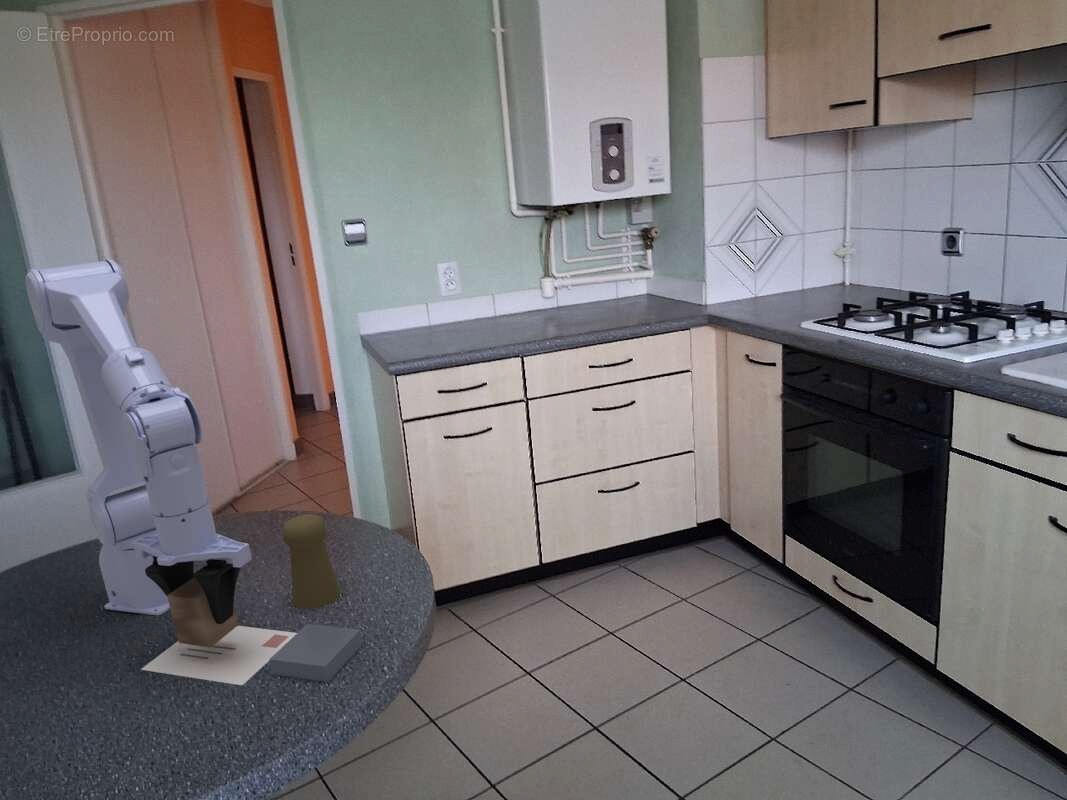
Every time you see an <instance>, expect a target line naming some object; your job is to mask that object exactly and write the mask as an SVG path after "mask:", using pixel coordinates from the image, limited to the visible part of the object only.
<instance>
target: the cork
mask: <svg viewBox="0 0 1067 800" xmlns="http://www.w3.org/2000/svg"><path fill="white" fill-rule="evenodd" d="M326 532H327V528H326V524H325V521H324V519H323V518H321V517H320V516H319V515H316V514H311V513H310V514H308V513H307V514H301V515H298V516H295V517H294V516H293V517H292V518H290V519H289V520H288V521H286V522H285V523H284V526H283V527H282V539H283V541H284V544H286V546H288V548H289V557H290V558H289V559H290V575H291V576H290V577H291V594H292V605H293V606H294V607H296V608H298V609H302V610H312V609H317V608H321V607H322V608H323V607H325V606H328V605H330V604H331V603H333V602H334V601H336V600H337V599H338V598H339V597H340V596H341V588H340V585H339V582H338V579H337V576H336V574H335V570H334V567H333V565H332V562H331V559H330V556H329V553H328V550H327V547H326V545H325V544H326V543H325V541H324V539H326V538H325V537H326V534H327V533H326Z"/></svg>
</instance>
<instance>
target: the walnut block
mask: <svg viewBox="0 0 1067 800" xmlns="http://www.w3.org/2000/svg"><path fill="white" fill-rule="evenodd" d="M167 598H168V602H169V606H170V609H169V610H170V613H171V617H172V621H173V625H174V629H175V633H176V637H177V641H179V643H183V644H189V645H196V646H202V647H209V648H211V647H212V646H213V645H215V644H216V643H217V642H218V641H220V640H221V639H222V638H223V637H225V636H226V635H227V634H228V633H229V632H231V631H232V630H233V629H234V628H236V627H237V626H239V623H238V618H237V615H236V611H235V610H236V609H235V607H234V608H233V616H232V617H230V618H229V619H228V620H227V621H225V622H224V623H223V624H217V623H216V622H215V620H214V618H213V615H212V612H211V608H210V605H209V602H208V599H207V597H206V595H205V593H204V591H203V589H202V587H201V586H200V584H199V583H198V582H197V581H196V579H195V578H194V577H193V578H192V579H191V580H189V581H188V582H186V583H185V584H183V585H182V586H180V587H179V588H177V589H176V590H174V591H173V592H171V593H170V594H168V595H167Z"/></svg>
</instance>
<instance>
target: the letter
mask: <svg viewBox="0 0 1067 800" xmlns="http://www.w3.org/2000/svg"><path fill="white" fill-rule="evenodd" d="M297 633H298V632H291V631H283V630H275V629H268V628H261V627H259V628H258V627H252V626H251V627H250V626H245V625H244V626H243V625H238V626H237V627H236V628H234V629H233V630H232V631H231V632H229V633H228V634H227V635H226V636H225V637H223V638H222V639H221V640H220V641H218V642H217V643H216V644H215V645H213V646H212V647H211V648H209V647H202V646H196V645H189V644H183V643H179V641H178V640H177V641H176V642H175V643H173V644H172V645H171V646H170V647H168V648H166V649H165V651H163V652H161V653H160V654H159V655H158V656H156V657H155V658H154V659H152V660H151V661H150V662H148V663H147V664H146V665H144V666H143V667H142V668H140V671H146V672H153V673H159V674H167V675H173V676H178V677H184V678H190V679H191V678H192V679H199V680H205V681H211V682H216V683H217V682H218V683H224V684H230V685H237V686H244V684H246V683H247V682H248V681H249V680H250V679H251V678H252V677H254V676H255V675H256V673H258V672H259V671H260V670H261V669H262V668H263V667H264V666H265V665H267V664H268V663H270V660H269V659H270V658H271V657H272V656H273V655H274V654H276V653H277V652H278V651H279V650H280V649H281V648H282V647H283V646H284V645H285V644H286V643H287V642H288V641H290V640H291V639H292V638H293V637H294V636H295V635H296V634H297Z"/></svg>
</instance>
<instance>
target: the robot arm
mask: <svg viewBox="0 0 1067 800" xmlns="http://www.w3.org/2000/svg"><path fill="white" fill-rule="evenodd" d="M24 282H25V288H26V293H27V296H28V301H29V304H30V307H31V310H32V313H33V316H34V319H35V323H36V326H37V328H38V331H39V333H41V335H42V338H43V340H45V341H47V342H52V343H55V344H59V345H60V346H61V348H62V349H63V351H64V353H65V355H66V356H67V358H68V361H69V364H70V366H71V370H72V373H73V375H74V380H75V382H76V385H77V388H78V392H79V395H80V398H81V401H82V404H83V407H84V410H85V411H84V412H85V414H86V417H87V420H88V422H89V426H90V429H91V432H92V435H93V439H94V442H95V445H96V449H97V450H98V451H97V452H98V455H99V457H100V460H101V464H102V468H103V469H102V471H101V472H100V474H99V475H98V476H97V477H96V478H95V479H94V481H92V482H91V484H90V486H89V487H88V488H87V491H86V492H87V494H86V499H87V500H86V501H87V502H88V507H89V514H90V515H89V516H90V519H91V523H92V526H93V530H94V532H95V534H96V536H97V538H98V540H99V542H100V543H101V544H102V547H101V548H100V551H99V555H98V557H99V558H98V564H99V568H100V572H101V576H102V579H103V583H104V586H105V591H106V593H107V598H108V601H109V602H107V603H106V604H105V605H104V609H105V610H111V611H119V612H124V613H125V612H127V613H134V614H141V615H142V614H144V615H149V616H150V615H151V616H152V615H153V616H160V615H163V614H164V613H166V612H167V611H169V610H170V606H169V602H168V598H167V595H168V594H170V593H171V592H173V591H174V590H176V589H177V588H179V587H180V586H182V585H183V584H185V583H186V582H188V581H189V580H191V579H192V578H193V577H194V578H195V579H196V581H197V582H198V583H199V584H200V586H201V587H202V589H203V591H204V593H205V595H206V597H207V599H208V602H209V605H210V608H211V612H212V615H213V618H214V620H215V622H216V623H217V624H223V623H224V622H225V621H227V620H228V619H229V618H230V617H232V616H233V608H234V609H235V606H234V603H235V592H236V586H237V582H238V578H239V577H238V576H239V574H240V570H241V568H242V567H243V566H244V565H246V564H248V562H250V561H252V560H253V558H252V553H251V547H250V544H249V543H246V542H241V541H237V540H235V539H231V538H230V537H227V536H224V535H222V534H219V533H217V531H216V527H215V522H214V518H213V517H214V516H213V514H212V510H211V506H210V500H209V495H208V492H207V488H206V483H205V477H204V474H203V473H204V472H203V468H202V465H201V460H200V456H199V451H198V447H197V446H195V444H196V445H199V444H201V441H202V439H203V437H202V436H203V435H202V434H203V432H202V431H203V430H202V425H201V420H200V417H199V413H198V412H197V409H196V406H195V404H194V403H193V401H192V399H191V397H190V396H189V394H187V393H186V392H182V391H181V389H180V388H179V387H173V386H172V384H171V383H170V380H169V379H168V377H167V376H166V374H165V372H164V371H163V369H162V367H161V365H160V363H159V362H158V360H157V359H156V357H155V355H154V354H153V353H152V352H151V351H150V350H148V349H145V348H142V347H141V348H140V347H138V346H137V343H136V341H135V339H134V337H133V334H132V331H131V330H130V327H129V325H128V322H127V321H126V312H128V304H129V300H130V294H129V293H130V292H129V287H128V283H127V279H126V276H125V273H124V271H123V269H122V267H121V266H120V265H119V263H117V262H115V260H113V259H111V258H109V259H105V260H104V261H103V260H102V261H96V262H95V261H94V262H87V263H81V264H80V263H78V264H71V265H65V266H64V265H63V266H58V267H51V268H43V269H37V268H32V269H29V270H28V272H27V274H26V275H25V281H24ZM141 483H145V484H143V485H140V486H137V487H134V488H130V489H127V490H124V491H121V492H117V493H114V494H111V493H113V492H116V491H118V490H121V489H125V488H128V487H131V486H135V485H137V484H141ZM110 494H111V495H110ZM196 561H197V562H206V565H204V566H203V567H201V568H200V569H199V570H197V571H195V572H194V565H195V562H196Z"/></svg>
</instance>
